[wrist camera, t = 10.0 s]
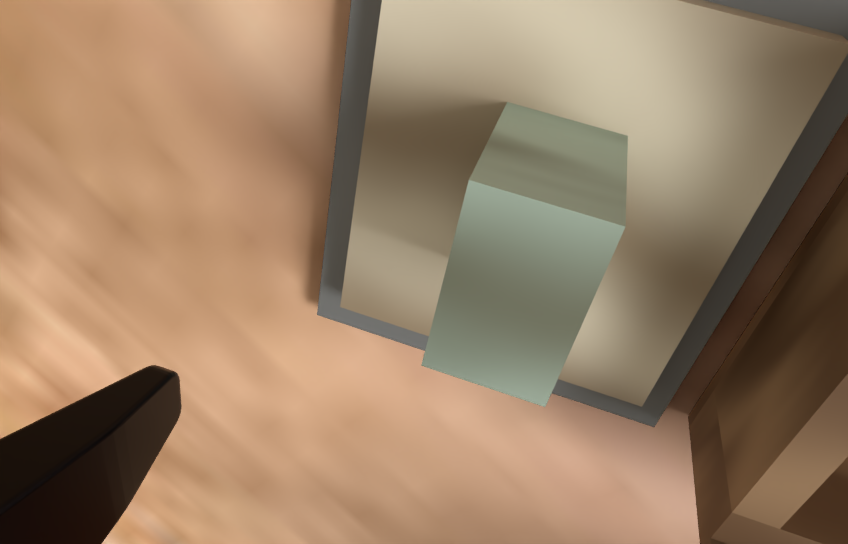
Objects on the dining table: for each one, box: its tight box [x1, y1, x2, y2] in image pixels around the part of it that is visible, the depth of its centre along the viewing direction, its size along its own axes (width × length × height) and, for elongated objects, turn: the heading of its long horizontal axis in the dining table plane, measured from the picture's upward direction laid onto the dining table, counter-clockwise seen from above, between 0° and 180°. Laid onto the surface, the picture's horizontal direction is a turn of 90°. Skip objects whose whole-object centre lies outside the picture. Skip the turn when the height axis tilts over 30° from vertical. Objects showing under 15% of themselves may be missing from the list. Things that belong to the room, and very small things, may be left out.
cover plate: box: [340, 0, 848, 407], centre depth 15 cm, size 11×10×5 cm
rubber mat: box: [317, 0, 848, 427], centre depth 18 cm, size 14×12×1 cm
